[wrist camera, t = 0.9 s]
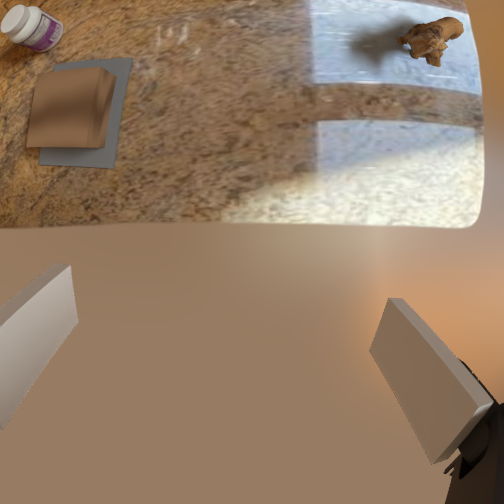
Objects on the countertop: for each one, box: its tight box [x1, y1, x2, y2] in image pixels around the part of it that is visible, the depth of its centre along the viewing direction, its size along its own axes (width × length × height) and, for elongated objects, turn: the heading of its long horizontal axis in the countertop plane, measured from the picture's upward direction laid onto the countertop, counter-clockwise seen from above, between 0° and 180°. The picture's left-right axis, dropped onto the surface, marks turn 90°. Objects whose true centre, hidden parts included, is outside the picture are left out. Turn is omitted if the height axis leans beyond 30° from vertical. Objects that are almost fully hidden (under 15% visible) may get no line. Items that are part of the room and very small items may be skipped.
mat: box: [39, 58, 133, 169], centre depth 29 cm, size 14×12×1 cm
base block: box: [26, 67, 117, 148], centre depth 27 cm, size 9×9×5 cm
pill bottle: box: [1, 5, 63, 52], centre depth 20 cm, size 5×5×10 cm
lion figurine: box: [398, 17, 464, 67], centre depth 24 cm, size 15×5×9 cm, turn 136°
